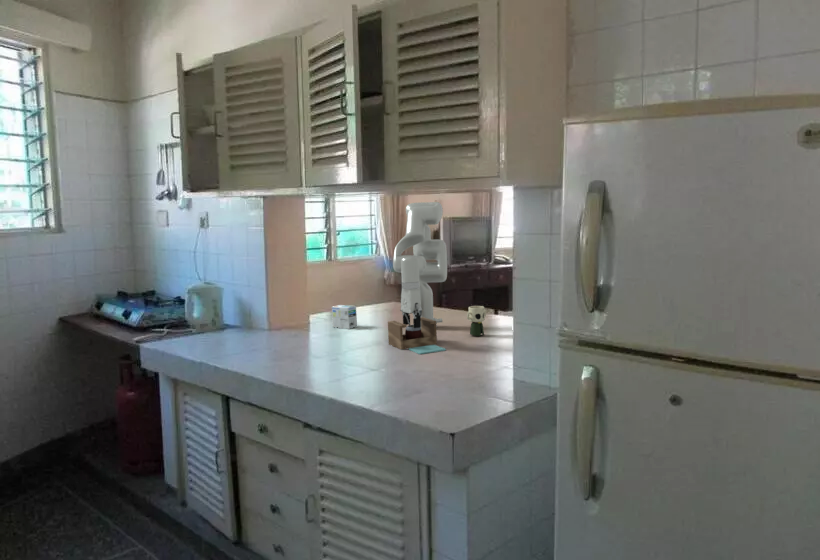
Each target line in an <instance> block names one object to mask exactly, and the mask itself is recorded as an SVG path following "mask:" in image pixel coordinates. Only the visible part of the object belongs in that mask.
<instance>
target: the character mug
mask: <svg viewBox="0 0 820 560" xmlns="http://www.w3.org/2000/svg"><path fill="white" fill-rule="evenodd" d="M486 317H487V310H486V309H485V306H484V305H472V306H468V312H466V319H467V320H468V321H469V322H471V323H470V330H469V335H471V336H474V337H475V336H476V337H481V336H485V331H484V325H483V322H484V321H485V319H486Z"/></svg>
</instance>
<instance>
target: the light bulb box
mask: <svg viewBox="0 0 820 560" xmlns="http://www.w3.org/2000/svg"><path fill="white" fill-rule="evenodd" d="M331 315H332V316H331V317H332V319H331V320H332V328H333V327H338V328H337V329H343V328H347V329H346V330H351V329H354V328H353V327H355V328H357V327H358V320H357V319H358V317H357V315H358V314H357V305H350V304H349V305H344V304H338V305H334V306H331ZM350 328H351V329H350Z"/></svg>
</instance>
